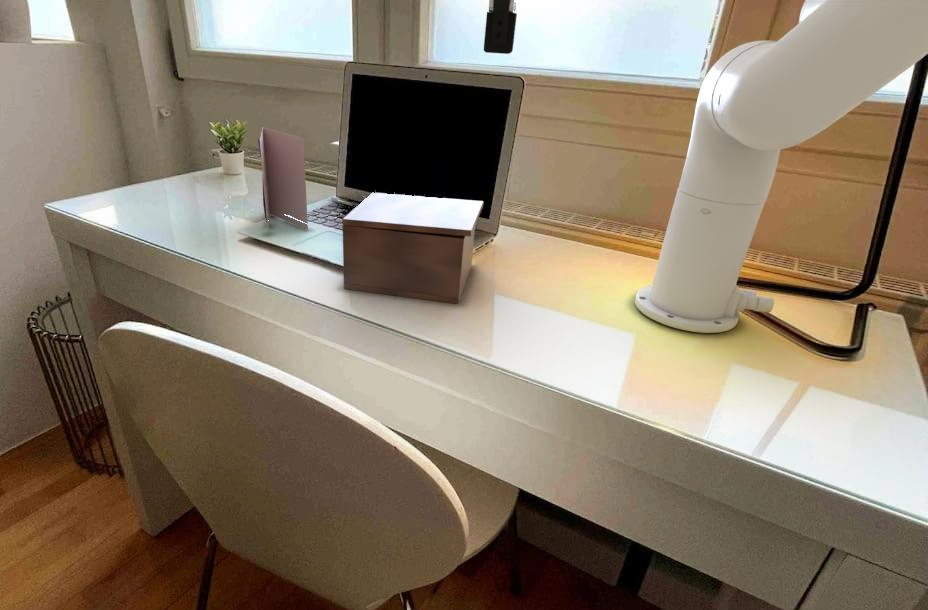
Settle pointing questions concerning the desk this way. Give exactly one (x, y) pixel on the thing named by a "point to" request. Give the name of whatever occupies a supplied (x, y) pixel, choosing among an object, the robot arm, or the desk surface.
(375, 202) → the box lid
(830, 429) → the desk surface
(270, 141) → the greeting card
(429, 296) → the box
